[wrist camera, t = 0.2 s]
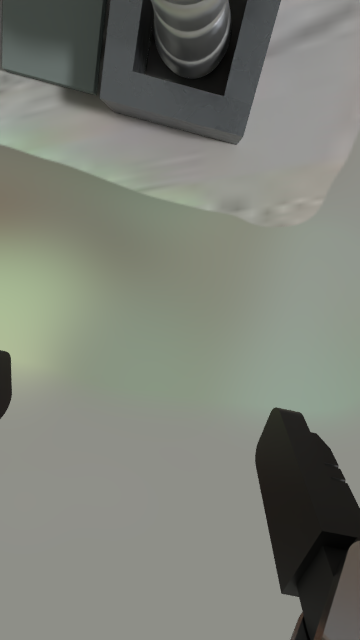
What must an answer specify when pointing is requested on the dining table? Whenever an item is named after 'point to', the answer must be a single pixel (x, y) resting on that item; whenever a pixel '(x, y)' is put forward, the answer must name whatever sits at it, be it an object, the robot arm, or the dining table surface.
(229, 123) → the metal collar
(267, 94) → the dining table surface
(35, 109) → the dining table surface
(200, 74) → the silver metal bottle
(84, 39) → the grey-green rectangular panel
